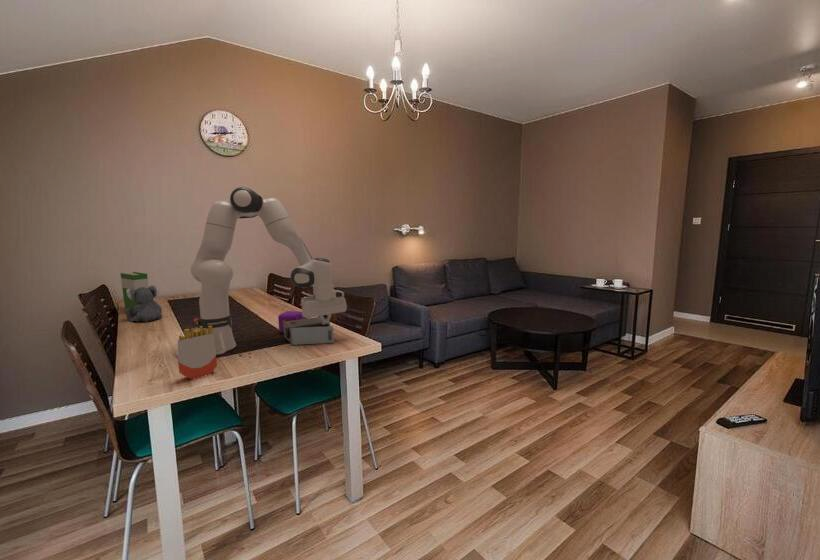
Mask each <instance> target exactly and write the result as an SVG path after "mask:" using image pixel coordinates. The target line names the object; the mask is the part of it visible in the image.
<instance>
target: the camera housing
mask: <svg viewBox="0 0 820 560" xmlns="http://www.w3.org/2000/svg"><path fill="white" fill-rule="evenodd" d="M326 319H327V318H325V317H324V316H323V320H326ZM325 326H331V320H329V324H325V325H322V321H321V319H320V318H319V316H316V317H310V318H307V319H300V320H294V321H287V322H285V328H284V333H283V334H284V338H285V339H286V341H288V342H289V343H290V344H291V332H290V328H303V327H325Z"/></svg>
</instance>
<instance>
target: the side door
mask: <svg viewBox="0 0 820 560" xmlns="http://www.w3.org/2000/svg"><path fill="white" fill-rule="evenodd" d="M290 332H291V343H290V345H291V346H294V345H295V346H297V345H316V344H332V343H333V344H334V343H335V339H334V336H335V335H334V325H330V326H325V327H303V328H290Z"/></svg>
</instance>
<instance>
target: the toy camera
mask: <svg viewBox="0 0 820 560" xmlns="http://www.w3.org/2000/svg"><path fill="white" fill-rule="evenodd" d="M277 318H278V331H279V332H280V333H282V334H284V328H285V322H287V321H294V320H300V319H307V318H304V317H303V316H302V311H297V310H294V311H293V310H291V309H287V310H286V311H285V312H283V313H280V314H279V315H278V316H277Z"/></svg>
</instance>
